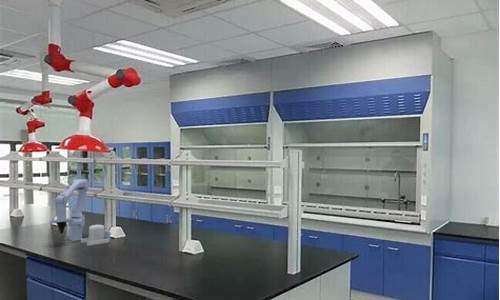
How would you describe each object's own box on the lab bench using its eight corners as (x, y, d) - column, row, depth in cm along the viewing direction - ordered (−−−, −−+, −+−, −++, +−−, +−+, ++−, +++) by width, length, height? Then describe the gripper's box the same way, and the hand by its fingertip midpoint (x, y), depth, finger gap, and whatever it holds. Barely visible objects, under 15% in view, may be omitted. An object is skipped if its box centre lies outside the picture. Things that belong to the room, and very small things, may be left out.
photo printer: (103, 241, 274) (103, 223, 274) (104, 242, 270) (104, 224, 270) (88, 242, 268) (88, 225, 269) (89, 243, 265) (89, 226, 265)
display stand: (81, 242, 268) (81, 232, 268) (103, 239, 279) (103, 229, 279) (87, 245, 259) (87, 235, 259) (110, 242, 270) (110, 232, 270)
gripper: (52, 215, 252) (51, 235, 251) (74, 212, 262) (74, 232, 261) (48, 213, 257) (48, 233, 257) (71, 211, 267) (71, 231, 266)
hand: (61, 233), depth 259 cm, fingers closed
